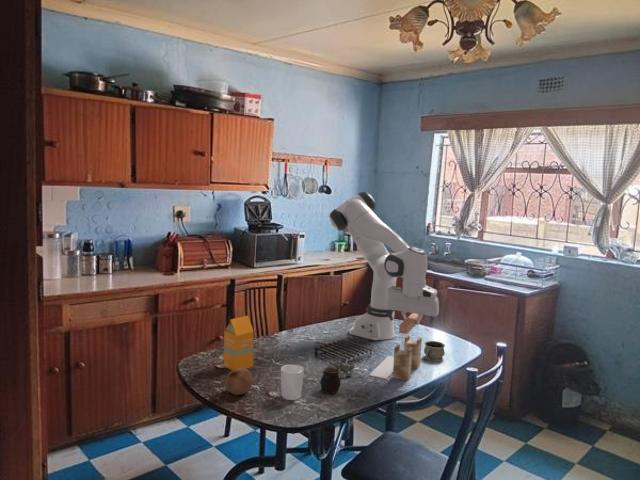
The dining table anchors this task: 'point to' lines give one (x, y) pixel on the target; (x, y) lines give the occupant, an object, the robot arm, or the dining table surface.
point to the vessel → (434, 350)
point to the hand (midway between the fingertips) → (411, 323)
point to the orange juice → (238, 343)
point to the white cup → (291, 381)
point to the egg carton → (344, 367)
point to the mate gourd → (330, 380)
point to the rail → (408, 323)
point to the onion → (239, 381)
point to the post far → (414, 350)
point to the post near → (402, 363)
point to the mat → (384, 369)
